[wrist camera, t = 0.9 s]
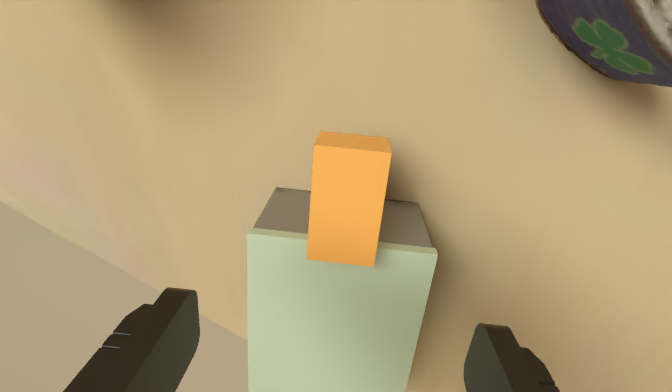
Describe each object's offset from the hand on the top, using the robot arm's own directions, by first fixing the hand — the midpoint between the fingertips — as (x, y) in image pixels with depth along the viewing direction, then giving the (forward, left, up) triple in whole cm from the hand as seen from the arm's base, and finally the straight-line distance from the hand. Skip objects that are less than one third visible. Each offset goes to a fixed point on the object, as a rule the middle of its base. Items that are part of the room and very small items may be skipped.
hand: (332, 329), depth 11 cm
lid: (0, +9, -14) cm, 17 cm away
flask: (-15, -10, -21) cm, 27 cm away
